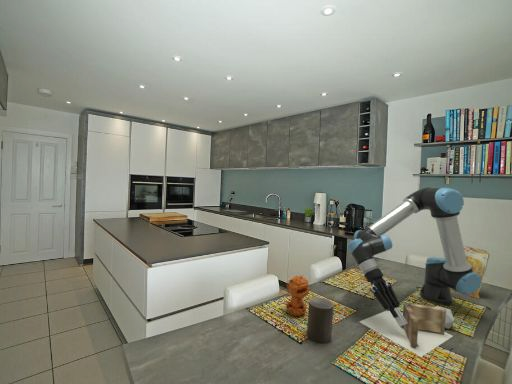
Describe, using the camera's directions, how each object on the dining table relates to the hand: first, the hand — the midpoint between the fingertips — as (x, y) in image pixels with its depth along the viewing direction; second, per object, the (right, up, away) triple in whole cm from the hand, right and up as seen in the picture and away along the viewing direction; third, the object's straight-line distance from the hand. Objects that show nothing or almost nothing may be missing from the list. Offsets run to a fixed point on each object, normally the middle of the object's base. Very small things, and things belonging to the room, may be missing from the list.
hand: (403, 324), depth 106 cm
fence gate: (+2, -5, -1) cm, 5 cm away
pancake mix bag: (+66, -7, +51) cm, 83 cm away
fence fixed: (+11, -5, +5) cm, 14 cm away
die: (+23, -6, +11) cm, 27 cm away
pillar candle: (-35, -4, -2) cm, 35 cm away
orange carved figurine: (-41, -3, +16) cm, 44 cm away
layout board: (+4, -5, +6) cm, 9 cm away
